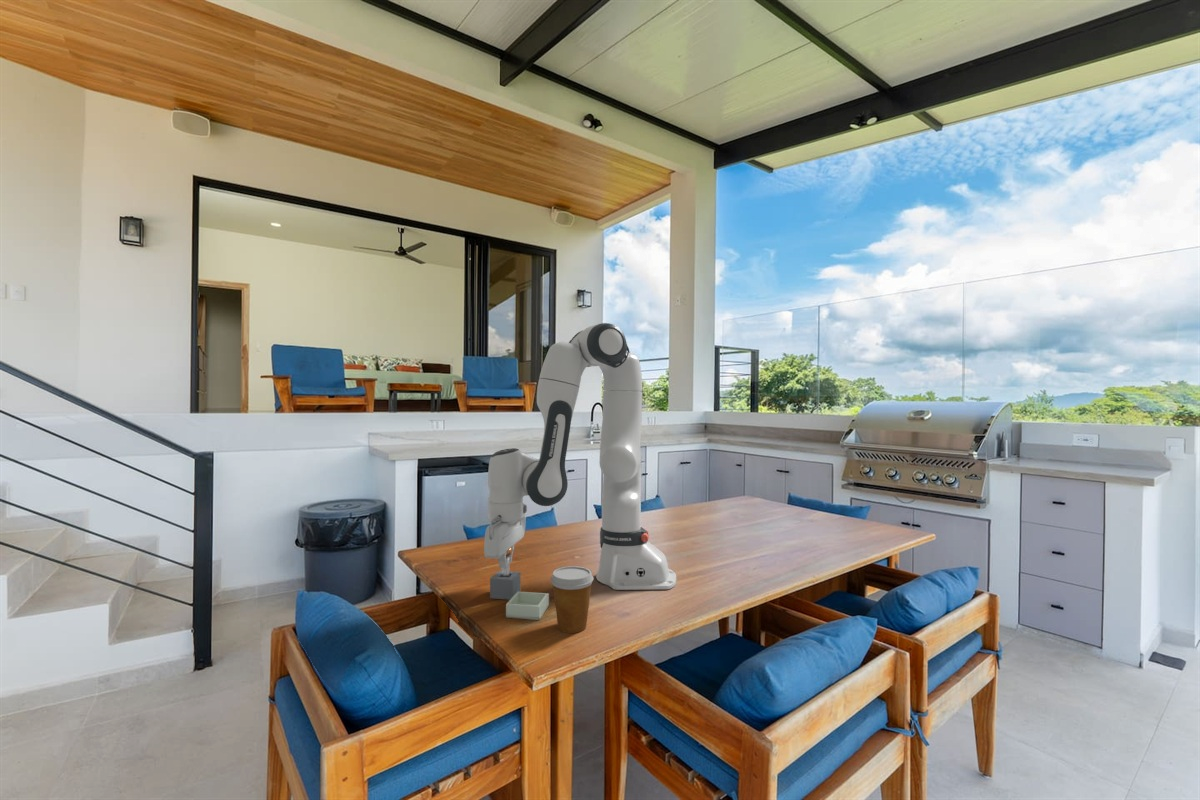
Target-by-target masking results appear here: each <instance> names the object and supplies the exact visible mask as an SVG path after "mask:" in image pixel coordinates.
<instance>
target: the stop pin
mask: <svg viewBox="0 0 1200 800" xmlns="http://www.w3.org/2000/svg"><path fill="white" fill-rule="evenodd" d="M511 554H512V547H511V548H510V549H509V550H507V554H506V560H508V562H507V564H508V565H507V566H506V567H505V568H501V571H502V577H509V571H510V564H509V555H511Z"/></svg>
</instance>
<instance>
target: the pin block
mask: <svg viewBox="0 0 1200 800" xmlns="http://www.w3.org/2000/svg"><path fill="white" fill-rule="evenodd" d="M521 574H522V573H521V571H515V570H514V571H511V570H509V577H502V570H498V571H496V573H494V575H492V576H491V577H490V579H489V598H490V599H496V600H497V599H498V600H508V601H509V600H510V599H511V598H512V597H513V596H514V595H515V594H516V593H517V591H519V592H522V590H521V585H522V584H521V582H522V581H521V580H522V579H521Z"/></svg>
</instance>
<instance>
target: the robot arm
mask: <svg viewBox="0 0 1200 800" xmlns="http://www.w3.org/2000/svg"><path fill="white" fill-rule="evenodd" d="M626 339H627V338H626V336H625V334H624V332H623V331H622V330H621V328H620V327H619V326H617V325H615V324H613V323H607V322H604V323H603V322H602V323H599V324H593V325H590V326H588V327H586V328H585V329H583V330H580V331H579V332H577V333H576V334H575V335H574V336H572V338H571V339H570V340H569V341H568V342H566V341H561V342H556V343H553V344H552V345H551V346H550V347H549V348H548V351H547V353H546V356H545V358H544V361H543V363H542V367H541V370H540V373H539V379H538V383H537V387H536V388H537V389H536V405H537V407H538V409H539V411H540V414H541V416H542V418H543V425H544V429H543V435H542V436H543V437H542V443H541V449H540V454H539V459H538V458H535V457H533V456H530V455H528V454H526V453H524V452H523V451H521V449H520V448H505V449H501V450H498V451H496V452H494V453H493V454H492V455H491V456H490V458H489V463H488V474H487V485H488V490H489V495H488V501H487V519H488V521H490V524H489V525H488V526H487V527H486V528H485V533H484V545H483V546H484V547H483V554H484V557H485V559H497V560H498V567H499V568H500V569H502V568H505V567H506V566H507V565H508V564H507V562H508V560H506V554H507V550H509V549H510V548H511V547H512V554H511V555H509V565H510V564H511V563H512V562H513V554H514V551H515V545H516V544H517V543H518V542H519V541H521V540H522V539H523V538H524V536H525V532H526V520H527V519H526V513H527V511H528V504H526V503H524V502H523V500H524V496H528V497H529V499H530V500H531V501H532V502H534V503H535V504H536V505H539V506H542V507H550V506H553V505H556V504H557V503H559V502H560V501H561V500H563V498H564V497H565V496H566V493H567V491H568V475H567V471H566V457H567V451H568V444H569V439H570V432H571V431H570V430H571V425H572V418H573V416H574V415H573V414H574V410H575V407H576V402H577V399H578V395H579V390H580V386H581V381H582V376H583V373H584V371H585V370H586V368H587V367H588V368H590V367H599V368H600V371H601V373H602V377H603V387H602V389H603V390H602V393H603V394H602V420H601V421H602V423H601V432H600V433H601V434H600V446H599V467H600V470H601V471H600V472H602V474H603V479H602V480H603V485H602V494H601V495H602V496H601V527H600V530H599V544H600V557H599V564H598V569H597V572H596V576H595V578H596V579H597V581H598V582H600V583H601V584H604V585H605V586H608V587H610V588H612V589H613V590H616V591H617V590H618V591H620V590H621V591H623V590H625V591H628V590H629V591H631V590H635V591H637V590H646V591H647V590H670V589H672V588H674V587H675V585H676V584H677V574H676V573H675V571H674V570H672V569H671V568H669V564H668V563H669V562H668V559H667V556H666V554H664V553H663V552H662V551H661V550H660V549H658V548H657V547H656V546H655V545H653V544H652V543H650V541H649V538H650V536H649V531H648V529H647V528H643V526H642V509H641V507H642V503H641V502H642V451H641V444H642V443H641V440H642V439H641V438H642V437H641V436H642V421H643V420H642V419H643V418H642V417H643V413H642V412H643V377H642V376H643V375H642V368H641V363H640V359H639V358H638V357H637V355H635V354H634V353H632V352H630V348H629V346H628V342H627V340H626Z"/></svg>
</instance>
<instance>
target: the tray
mask: <svg viewBox="0 0 1200 800" xmlns="http://www.w3.org/2000/svg"><path fill="white" fill-rule="evenodd" d="M548 607H550V593H548V592H547V593H546V592H534V591H533V592H531V591H530V592H529V591H520V592H519V591H517V593H516V594H515V595H514V596H513V597H512V598H511V599H510V600H508V601H507V602H506V604H505V618H510V619H511V618H512V619H521V620H522V619H523V620H534V621H536V620H537V621H540V620H541V618H542V617H543V615H544V614H545V612H546V610H547V609H548Z"/></svg>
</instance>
